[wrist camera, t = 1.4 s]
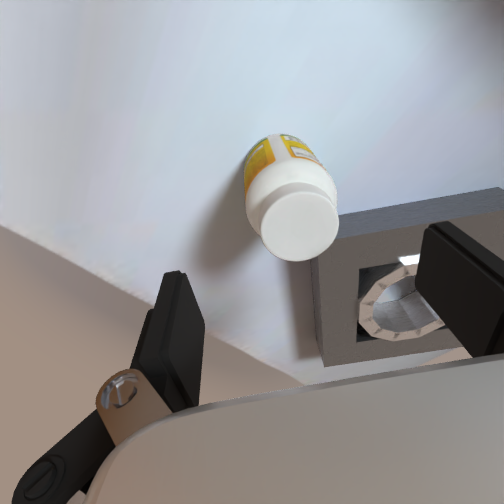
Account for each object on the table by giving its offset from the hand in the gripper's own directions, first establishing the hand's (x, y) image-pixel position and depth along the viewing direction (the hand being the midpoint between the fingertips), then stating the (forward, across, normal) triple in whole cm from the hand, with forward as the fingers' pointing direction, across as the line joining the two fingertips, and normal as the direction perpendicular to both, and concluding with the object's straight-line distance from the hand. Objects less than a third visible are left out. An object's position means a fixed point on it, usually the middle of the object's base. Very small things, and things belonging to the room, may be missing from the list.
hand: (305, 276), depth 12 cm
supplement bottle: (+13, -1, 0) cm, 13 cm away
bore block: (+13, -11, +13) cm, 21 cm away
